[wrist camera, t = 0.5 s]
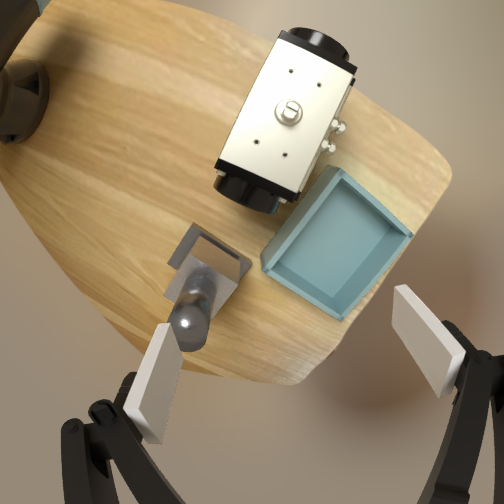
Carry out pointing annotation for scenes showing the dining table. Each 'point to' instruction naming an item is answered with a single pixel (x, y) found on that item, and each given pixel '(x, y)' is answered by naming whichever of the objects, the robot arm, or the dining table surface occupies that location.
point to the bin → (335, 244)
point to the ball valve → (286, 121)
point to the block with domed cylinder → (200, 292)
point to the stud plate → (199, 231)
